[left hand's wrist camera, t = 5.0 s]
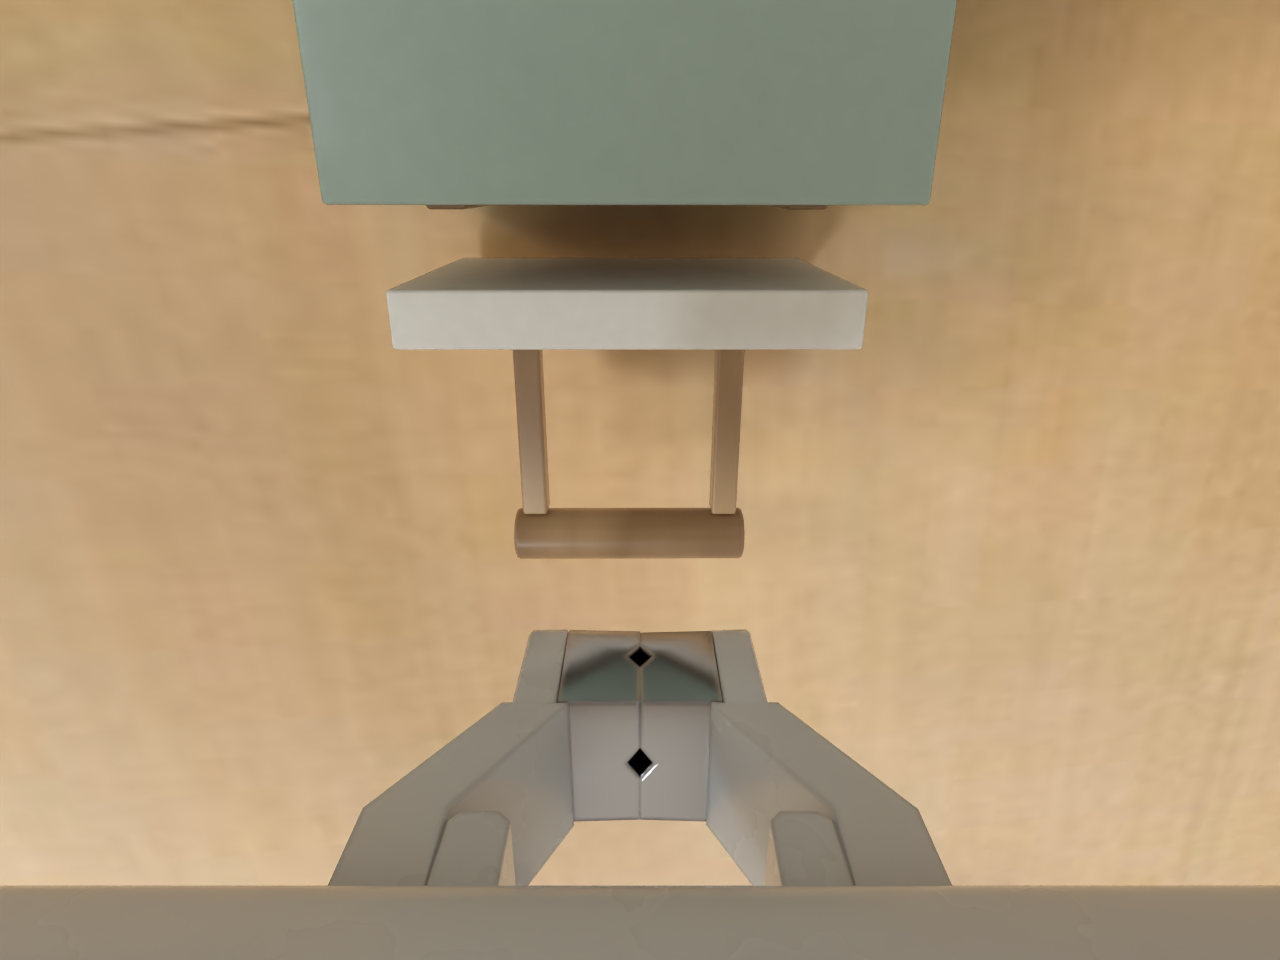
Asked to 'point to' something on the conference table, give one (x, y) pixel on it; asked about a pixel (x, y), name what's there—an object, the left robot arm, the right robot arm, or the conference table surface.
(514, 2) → the cabinet
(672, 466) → the conference table surface
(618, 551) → the drawer
